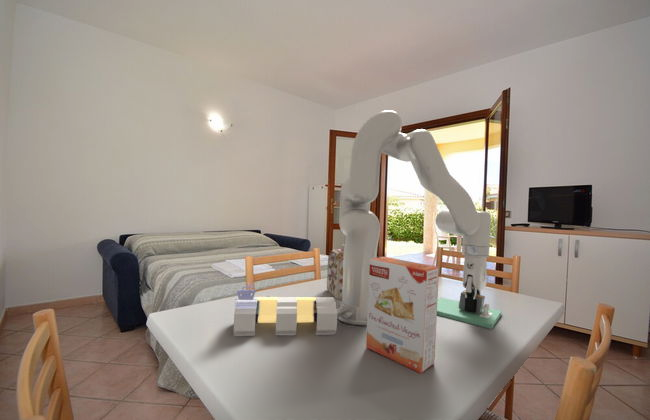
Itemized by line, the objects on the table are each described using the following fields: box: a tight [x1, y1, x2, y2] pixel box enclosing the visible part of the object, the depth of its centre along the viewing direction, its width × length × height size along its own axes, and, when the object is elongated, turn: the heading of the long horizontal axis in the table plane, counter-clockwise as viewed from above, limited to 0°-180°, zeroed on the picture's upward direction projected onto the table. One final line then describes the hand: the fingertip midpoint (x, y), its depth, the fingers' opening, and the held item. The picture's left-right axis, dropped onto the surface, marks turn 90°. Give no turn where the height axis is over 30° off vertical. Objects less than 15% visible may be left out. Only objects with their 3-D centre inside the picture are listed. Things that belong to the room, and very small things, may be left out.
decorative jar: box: [326, 243, 345, 300], centre depth 111 cm, size 12×12×18 cm
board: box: [437, 297, 502, 330], centre depth 95 cm, size 15×19×4 cm
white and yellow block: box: [233, 282, 338, 337], centre depth 79 cm, size 25×10×13 cm, turn 97°
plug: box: [458, 289, 486, 315], centre depth 94 cm, size 4×6×5 cm, turn 51°
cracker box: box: [365, 256, 440, 374], centre depth 66 cm, size 14×6×21 cm, turn 45°
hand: (472, 309), depth 94 cm, fingers closed on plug, 3 cm apart
